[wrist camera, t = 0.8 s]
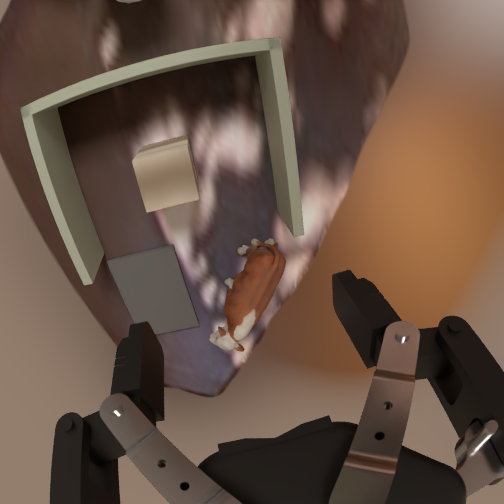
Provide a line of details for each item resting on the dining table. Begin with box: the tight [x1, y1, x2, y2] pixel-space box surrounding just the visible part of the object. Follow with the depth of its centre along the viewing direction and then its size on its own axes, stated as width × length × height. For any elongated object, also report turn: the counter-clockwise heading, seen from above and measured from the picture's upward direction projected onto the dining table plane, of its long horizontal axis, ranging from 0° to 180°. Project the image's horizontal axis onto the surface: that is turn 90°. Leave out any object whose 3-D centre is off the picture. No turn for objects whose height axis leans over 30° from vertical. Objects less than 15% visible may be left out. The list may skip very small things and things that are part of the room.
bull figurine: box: [209, 238, 286, 351], centre depth 35 cm, size 4×13×8 cm, turn 150°
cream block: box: [132, 135, 200, 212], centre depth 28 cm, size 5×5×6 cm
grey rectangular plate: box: [107, 244, 199, 335], centre depth 38 cm, size 12×8×1 cm, turn 8°
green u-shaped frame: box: [20, 37, 304, 285], centre depth 27 cm, size 18×22×6 cm
